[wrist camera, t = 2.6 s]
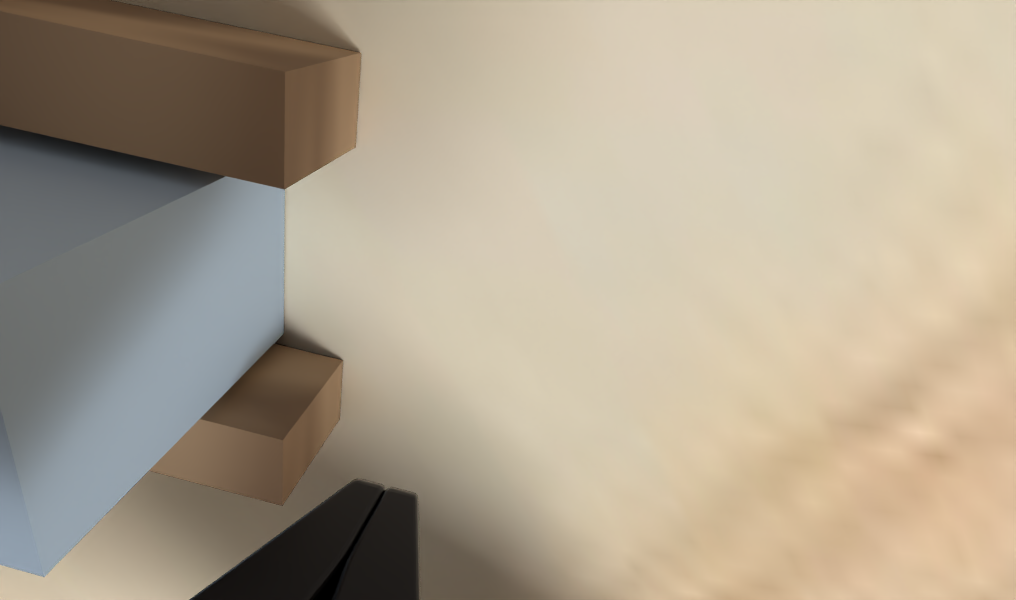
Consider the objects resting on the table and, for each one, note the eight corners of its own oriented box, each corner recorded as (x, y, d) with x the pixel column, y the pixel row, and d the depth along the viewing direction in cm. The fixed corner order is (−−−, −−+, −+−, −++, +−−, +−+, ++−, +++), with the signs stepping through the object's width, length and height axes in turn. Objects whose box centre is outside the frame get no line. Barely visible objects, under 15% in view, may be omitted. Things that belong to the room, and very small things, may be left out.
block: (285, 148, 13) (-29, 296, 7) (283, 333, 15) (44, 576, 9) (59, 98, 13) (-436, 196, 7) (89, 286, 15) (-274, 489, 9)
